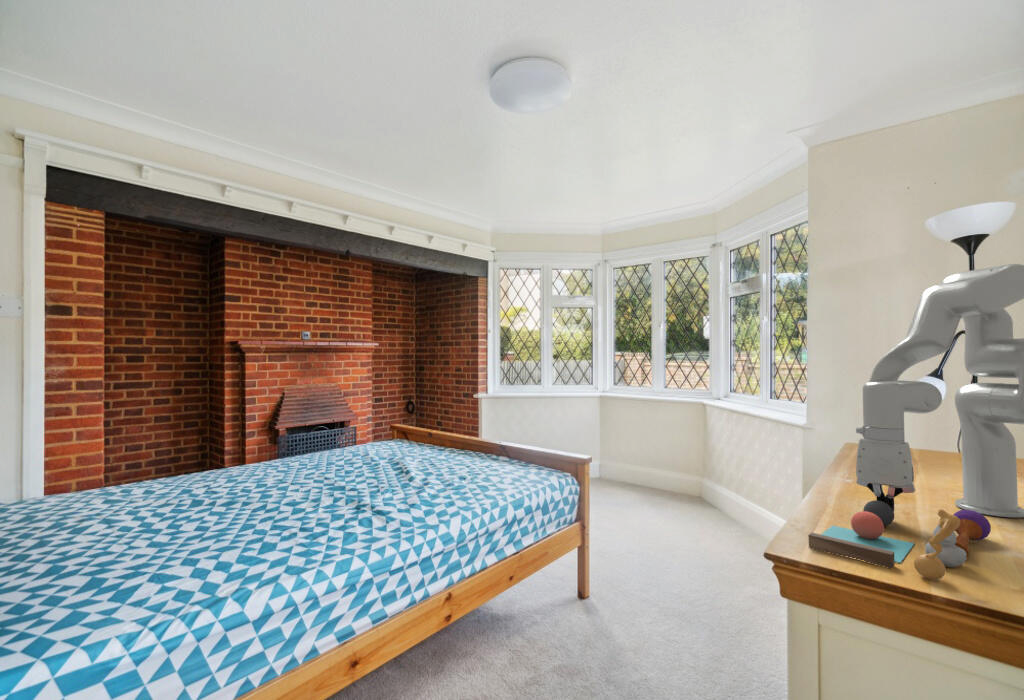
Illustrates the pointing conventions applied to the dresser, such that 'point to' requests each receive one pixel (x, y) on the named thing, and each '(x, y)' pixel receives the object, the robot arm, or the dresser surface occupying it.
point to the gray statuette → (948, 550)
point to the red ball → (867, 525)
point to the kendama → (971, 528)
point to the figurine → (936, 548)
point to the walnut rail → (852, 550)
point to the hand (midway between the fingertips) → (885, 513)
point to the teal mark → (872, 541)
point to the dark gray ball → (880, 511)
